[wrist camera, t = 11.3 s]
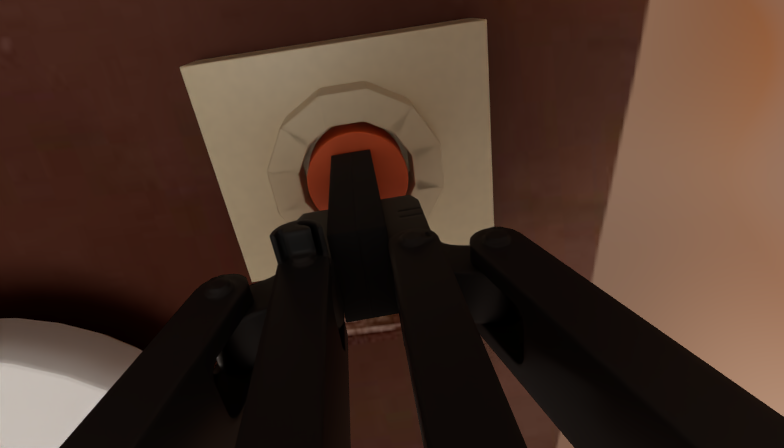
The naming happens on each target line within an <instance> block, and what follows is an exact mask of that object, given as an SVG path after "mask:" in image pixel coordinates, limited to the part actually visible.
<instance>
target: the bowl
mask: <svg viewBox="0 0 784 448" xmlns="http://www.w3.org/2000/svg"><path fill="white" fill-rule="evenodd" d="M141 352H142V350H140V349H138V348H137V347H135V346H132V345H130V344H128V343H125V342H123V341H120V340H118V339H115V338H113V337H110V336H108V335H105V334H101V333H97V332H93V331H89V330H86V329H82V328H78V327H74V326H69V325H65V324H62V323H55V322H46V321H38V320H29V319H21V318H0V448H59V447H60V446H61V445H62V444H63V443H64V442H65V440H66V439H67V438H68V437H69V436H70V435H71V433H72V432H73V431H74V430H75V429H76V428H77V426H78V425H79V424H80V423H81V422H82V421H83V420H84V418H85V417H86V416H87V415H88V414H89V413H90V411H91V410H92V409H93V408H94V407H95V406H96V404H97V403H98V402H99V401H100V400H101V399H102V398H103V396H104V395H105V394H106V393H107V392H108V391H109V389H110V388H111V387H112V386H113V385H114V384H115V383H116V381H117V380H118V379H119V378H120V377H121V376H122V374H123V373H124V372H125V371H126V370H127V369H128V367H129V366H130V365H131V364H132V363H133V362H134V361H135V359H136V358H137V357H138V356H139V355H140V354H141Z"/></svg>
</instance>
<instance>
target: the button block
mask: <svg viewBox="0 0 784 448" xmlns="http://www.w3.org/2000/svg"><path fill="white" fill-rule="evenodd" d="M180 71H181V74H182V77H183V80H184V82H185V85H186V88H187V91H188V94H189V97H190V100H191V103H192V106H193V109H194V112H195V115H196V118H197V121H198V124H199V127H200V130H201V133H202V136H203V139H204V142H205V145H206V148H207V151H208V154H209V156H210V159H211V162H212V165H213V168H214V171H215V174H216V177H217V180H218V183H219V186H220V189H221V192H222V195H223V198H224V201H225V204H226V207H227V210H228V213H229V216H230V219H231V222H232V225H233V228H234V230H235V233H236V236H237V239H238V242H239V245H240V248H241V251H242V254H243V257H244V260H245V263H246V266H247V269H248V272H249V275H250V278H251V281H252V282H256V281H262V280H265V279H268V278H270V277H272V276H274V275H275V274H276V269H277V265H278V263H277V260H276V256H275V253H274V250H273V246H272V243H271V240H270V234H271V233H272V231H273V230H275V229H276V228H277V227H279V226H281V225H283V224H286V223H288V222H291V221H295V220H298V219H299V218H300V217H301V215H302V214H304V213H310V212H316V211H319V209H318V208H317V207H316V206H315V204H314V203H313V201H312V199H311V197H310V194H309V191H308V185H307V174H308V168H309V163H310V158H311V154H312V151H313V148H314V146H315V144H316V143H317V141H318V140H319V139H320V137H321V136H322V135H323V134H324V133H325V132H327V131H328V130H330V129H331V128H333V127H335V126H339V125H345V124H351V123H357V122H367V123H370V124H372V125H375V126H377V127H380V128H382V129H384V130H385V131H386V132H388V133H389V134H390V135H391V136H392V137H393V138H394V140H395V141H396V143H397V144H398V146H399V148H400V150H401V153H402V155H403V158H404V160H405V163H406V166H407V170H408V178H409V181H408V188H407V192H406V195H411V196H413V197H415V198H416V199H418V200H419V202H420V205H421V208H422V210H423V212H424V215H425V217H426V220H427V222H428V225H429V227H430V230H431V231H434V232H435V233H436V234H437V235H438V236H439V239H440V241H441V242H443V243H446V244H451V245H470V244H469V242H470V237H471V236H472V235H473V234H474V233H476V232H478V231H480V230H482V229H487V228H490V227H494V210H493V181H492V153H491V124H490V96H489V67H488V39H487V20H486V19H479V18H466V19H459V20H453V21H446V22H440V23H434V24H427V25H421V26H414V27H408V28H401V29H395V30H389V31H382V32H376V33H369V34H363V35H356V36H350V37H344V38H337V39H331V40H324V41H318V42H311V43H305V44H299V45H292V46H286V47H279V48H273V49H266V50H260V51H254V52H247V53H241V54H234V55H228V56H221V57H215V58H209V59H202V60H196V61H194V62H191V63H189V64H186V65H184V66H181V67H180Z"/></svg>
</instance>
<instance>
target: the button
mask: <svg viewBox="0 0 784 448" xmlns="http://www.w3.org/2000/svg"><path fill="white" fill-rule="evenodd" d="M369 149H370V151H371V156H372V161H373V165H374V170H375V175H376V180H377V184H378V189H379V194H380V199H386V198H392V197H398V196H404V195H406V192H407V188H408V181H409V178H408V170H407V166H406V163H405V160H404V158H403V155H402V153H401V150H400V148H399V146H398V144H397V143H396V141H395V140H394V138H393V137H392V136H391V135H390V134H389V133H388V132H386V131H385V130H384V129H382V128H380V127H377V126H375V125H372V124H370V123H367V122H357V123H351V124H345V125H339V126H335V127H333V128H331V129H330V130H328V131H327V132H325V133H324V134H323V135H322V136H321V137H320V139H319V140H318V141H317V143H316V144H315V146H314V148H313V151H312V154H311V158H310V163H309V168H308V174H307V185H308V191H309V194H310V197H311V199H312V201H313V203H314V204H315V206H316V207H317V208H318V209H319V211H322V210H328V202H329V185H330V167H331V156H333V155H339V154H345V153H351V152H357V151H363V150H369Z"/></svg>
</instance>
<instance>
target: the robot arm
mask: <svg viewBox="0 0 784 448" xmlns="http://www.w3.org/2000/svg"><path fill="white" fill-rule="evenodd" d="M270 240H271V243H272V246H273V250H274V253H275V256H276V260H277V263H278V265H277V269H276V274H275V275H274V276H272V277H270V278H268V279H265V280H263V281H260V282H258V283H255V284H252V285H249V284H248V281H247V279H246V277H244V276H242V275H240V274H228V275H220V276H218V277H214V278H212V279H210V280H209V281H207V282H205V283H203V284H202V285H201V286H200V287H198V288H197V289H196V290H195V291H194V292H193V293H192V295H191V296H190V297H189V298H188V299H187V300H186V302H185V303H184V304H183V305H182V306H181V307H180V308H179V310H178V311H177V312H176V313H175V314H174V315H173V317H172V318H171V319H170V320H169V321H168V322H167V324H166V325H165V326H164V327H163V328H162V329H161V330H160V332H159V333H158V334H157V335H156V336H155V337H154V339H153V340H152V341H151V342H150V343H149V344H148V345H147V347H146V348H145V349H144V350H143V351H142V352H141V354H140V355H139V356H138V357H137V358H136V359H135V361H134V362H133V363H132V364H131V365H130V366H129V367H128V369H127V370H126V371H125V372H124V373H123V374H122V376H121V377H120V378H119V379H118V380H117V381H116V383H115V384H114V385H113V386H112V387H111V388H110V389H109V391H108V392H107V393H106V394H105V395H104V396H103V398H102V399H101V400H100V401H99V402H98V403H97V404H96V406H95V407H94V408H93V409H92V410H91V411H90V413H89V414H88V415H87V416H86V417H85V418H84V420H83V421H82V422H81V423H80V424H79V425H78V426H77V428H76V429H75V430H74V431H73V432H72V433H71V435H70V436H69V437H68V438H67V439H66V440H65V442H64V443H63V444H62V445H61V446H60V447H59V448H351V442H350V406H349V370H348V334H347V330H346V326H345V322H344V314H345V318H346V322H352V321H357V320H363V319H369V318H374V317H380V316H386V315H391V314H397V313H399V316H400V322H401V328H402V334H403V341H404V347H405V349H406V355H407V360H408V365H409V371H410V376H411V381H412V387H413V392H414V397H415V403H416V408H417V413H418V419H419V424H420V430H421V435H422V440H423V446H424V448H527V446H526V444H525V441H524V439H523V437H522V434H521V432H520V429H519V427H518V425H517V422H516V420H515V417H514V415H513V413H512V410H511V408H510V406H509V403H508V401H507V398H506V396H505V394H504V391H503V389H502V387H501V384H500V382H499V379H498V377H497V375H496V372H495V370H494V367H493V365H492V363H491V360H490V358H489V356H488V353H487V351H486V348H485V346H484V344H483V341H482V339H481V336H482V338H483V339H484V340H485V341H486V342H487V344H488V345H489V346H490V347H491V348H492V350H493V351H494V352H495V353H496V354H497V356H498V357H499V358H500V359H501V360H502V362H503V363H504V364H505V365H506V366H507V368H508V369H509V370H510V371H511V372H512V374H513V375H514V376H515V377H516V378H517V379H518V381H519V382H520V383H521V384H522V385H523V387H524V388H525V389H526V390H527V391H528V393H529V394H530V395H531V396H532V397H533V399H534V400H535V401H536V402H537V403H538V405H539V406H540V407H541V408H542V409H543V411H544V412H545V413H546V414H547V415H548V417H549V418H550V419H551V420H552V421H553V423H554V424H555V425H556V426H557V427H558V429H559V430H560V431H561V432H562V433H563V435H564V436H565V437H566V438H567V439H568V441H569V442H570V443H571V444H572V445H573V447H574V448H784V417H783V416H782V415H780V414H779V413H777V412H776V411H775V410H773V409H772V408H770V407H769V406H767V405H766V404H765V403H763V402H762V401H760V400H759V399H757V398H756V397H754V396H753V395H751V394H750V393H749V392H747V391H746V390H744V389H743V388H741V387H740V386H739V385H737V384H736V383H734V382H733V381H731V380H730V379H729V378H727V377H726V376H724V375H723V374H722V373H720V372H719V371H717V370H716V369H714V368H713V367H712V366H710V365H709V364H707V363H706V362H704V361H703V360H701V359H700V358H699V357H697V356H696V355H694V354H693V353H691V352H690V351H689V350H687V349H686V348H684V347H683V346H681V345H680V344H678V343H677V342H676V341H674V340H673V339H671V338H670V337H669V336H667V335H665V334H664V333H663V332H661V331H660V330H658V329H657V328H656V327H654V326H653V325H651V324H650V323H649V322H647V321H646V320H644V319H643V318H641V317H640V316H639V315H637V314H636V313H634V312H633V311H631V310H630V309H628V308H627V307H626V306H624V305H623V304H621V303H620V302H618V301H617V300H616V299H614V298H613V297H611V296H610V295H608V294H607V293H606V292H604V291H603V290H601V289H600V288H598V287H597V286H596V285H594V284H593V283H591V282H590V281H588V280H587V279H586V278H584V277H583V276H581V275H580V274H578V273H577V272H576V271H574V270H573V269H571V268H570V267H568V266H567V265H565V264H564V263H563V262H561V261H560V260H558V259H557V258H555V257H554V256H553V255H551V254H550V253H548V252H547V251H545V250H544V249H543V248H541V247H540V246H538V245H537V244H535V243H534V242H533V241H531V240H530V239H528V238H527V237H525V236H524V235H523V234H521V233H520V232H517V231H515V230H513V229H509V228H504V227H490V228H487V229H482V230H480V231H478V232H476V233H474V234H473V235H472V236H471V237H470V242H469V244H470V245H451V244H446V243H443V242H441V241H440V239H439V236H438V235H437V234H436V233H435V232H434V231H431V230H430V227H429V225H428V222H427V220H426V217H425V215H424V212H423V210H422V208H421V205H420V202H419V200H418V199H416V198H415V197H413V196H411V195H404V196H398V197H392V198H386V199H380V194H379V189H378V184H377V180H376V175H375V170H374V165H373V161H372V156H371V151H370V149H369V150H363V151H357V152H351V153H345V154H339V155H333V156H331V167H330V185H329V202H328V210H322V211H316V212H310V213H304V214H302V215H301V217H300V218H299V219H298V220H295V221H291V222H288V223H286V224H283V225H281V226H279V227H277V228H276V229H275V230H273V231H272V233H271V234H270ZM480 335H481V336H480ZM216 360H217V362H218V364H217V366H216V367H215V369H214V364H215V362H216Z"/></svg>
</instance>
